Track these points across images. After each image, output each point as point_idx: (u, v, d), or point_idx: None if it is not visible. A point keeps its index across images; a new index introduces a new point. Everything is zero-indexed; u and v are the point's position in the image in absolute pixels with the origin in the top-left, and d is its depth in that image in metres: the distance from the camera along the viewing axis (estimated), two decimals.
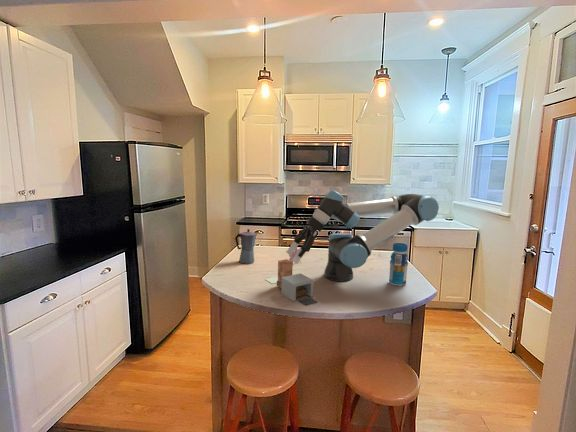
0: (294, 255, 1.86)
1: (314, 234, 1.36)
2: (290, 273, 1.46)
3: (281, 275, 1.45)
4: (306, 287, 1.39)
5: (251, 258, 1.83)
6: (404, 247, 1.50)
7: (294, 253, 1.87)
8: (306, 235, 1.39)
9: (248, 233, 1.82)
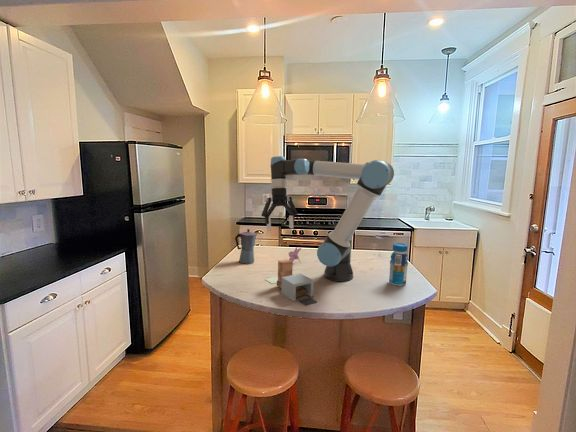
0: (294, 255, 1.86)
1: (267, 200, 1.54)
2: (290, 273, 1.46)
3: (281, 275, 1.45)
4: (306, 287, 1.39)
5: (251, 258, 1.83)
6: (404, 247, 1.50)
7: (294, 253, 1.87)
8: (271, 205, 1.57)
9: (248, 233, 1.82)
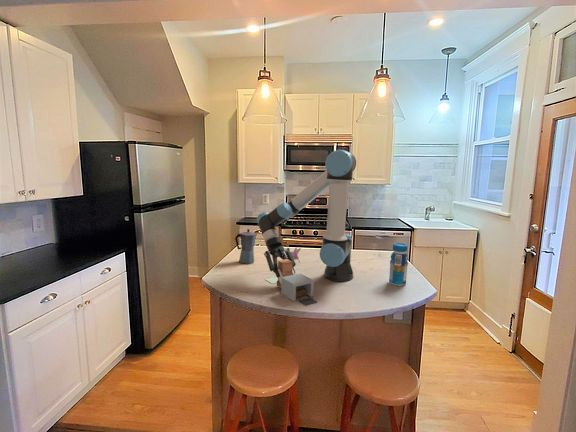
0: (293, 255, 1.86)
1: (266, 255, 1.49)
2: (290, 273, 1.46)
3: None
4: (306, 287, 1.39)
5: (251, 258, 1.83)
6: (404, 247, 1.50)
7: (293, 253, 1.86)
8: None
9: (248, 233, 1.82)
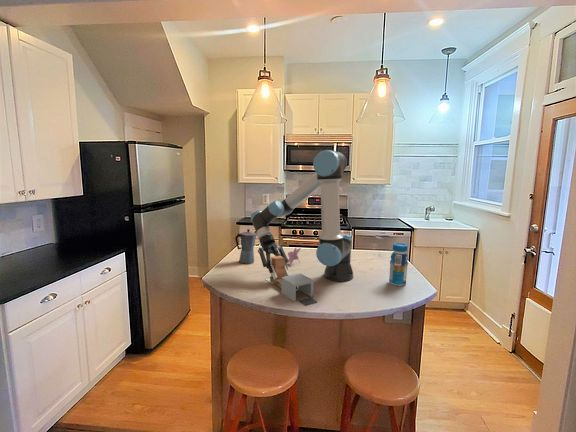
0: (293, 255, 1.86)
1: (259, 251, 1.54)
2: (283, 269, 1.51)
3: None
4: (306, 287, 1.39)
5: (251, 258, 1.83)
6: (404, 247, 1.50)
7: (293, 253, 1.86)
8: (266, 255, 1.56)
9: (248, 233, 1.82)
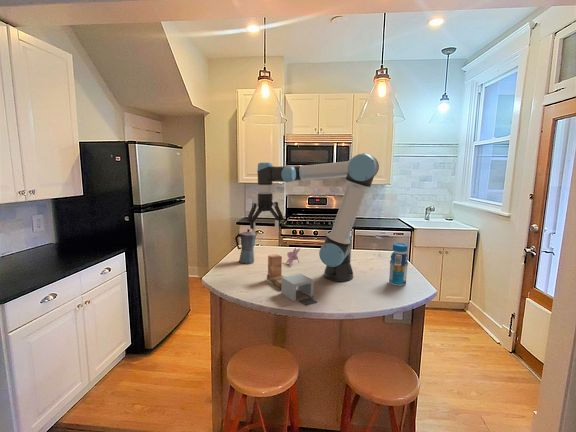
0: None
1: (253, 205, 1.56)
2: (279, 267, 1.54)
3: (271, 269, 1.53)
4: (306, 287, 1.39)
5: (251, 258, 1.83)
6: (404, 247, 1.50)
7: (293, 254, 1.85)
8: (257, 210, 1.59)
9: (248, 233, 1.82)
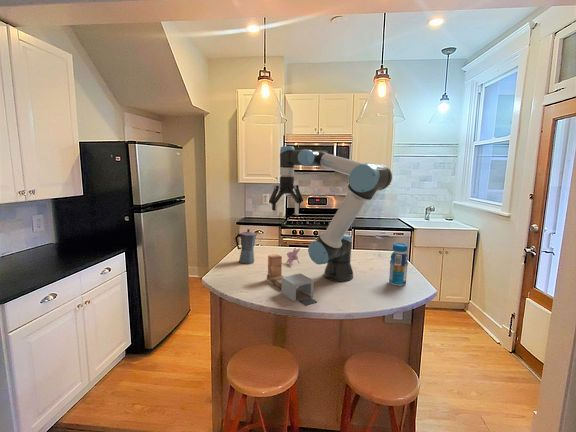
0: (293, 256, 1.85)
1: (275, 188, 1.62)
2: (279, 267, 1.54)
3: (271, 269, 1.53)
4: (306, 287, 1.39)
5: (251, 258, 1.83)
6: (404, 247, 1.50)
7: (292, 254, 1.85)
8: None
9: (248, 233, 1.82)
